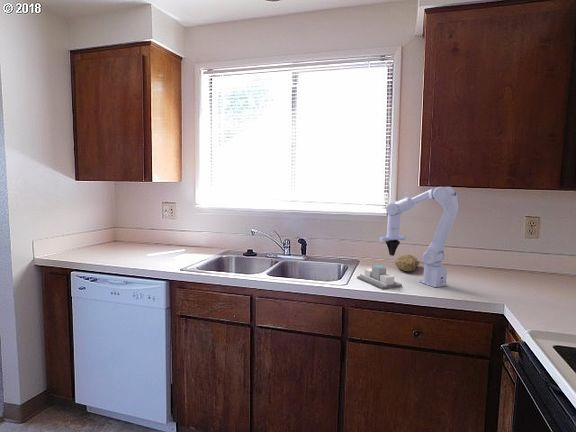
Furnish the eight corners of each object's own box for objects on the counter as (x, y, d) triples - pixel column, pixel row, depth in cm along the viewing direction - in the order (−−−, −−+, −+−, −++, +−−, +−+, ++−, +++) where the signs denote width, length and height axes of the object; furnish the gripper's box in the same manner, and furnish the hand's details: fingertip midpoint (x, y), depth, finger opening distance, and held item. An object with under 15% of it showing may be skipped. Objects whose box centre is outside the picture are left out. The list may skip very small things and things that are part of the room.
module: (385, 281, 166) (386, 267, 165) (378, 282, 164) (379, 268, 164) (378, 278, 170) (379, 265, 170) (371, 279, 169) (372, 265, 168)
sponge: (401, 266, 205) (385, 264, 190) (406, 252, 204) (390, 250, 189) (423, 275, 196) (409, 274, 181) (428, 261, 196) (414, 259, 181)
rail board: (401, 286, 162) (402, 276, 161) (381, 289, 157) (382, 279, 156) (375, 276, 178) (376, 266, 177) (356, 278, 173) (357, 268, 172)
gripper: (399, 226, 186) (397, 252, 188) (376, 227, 180) (374, 254, 182) (409, 228, 180) (407, 255, 182) (385, 229, 174) (384, 257, 175)
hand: (391, 255), depth 181 cm, fingers closed
